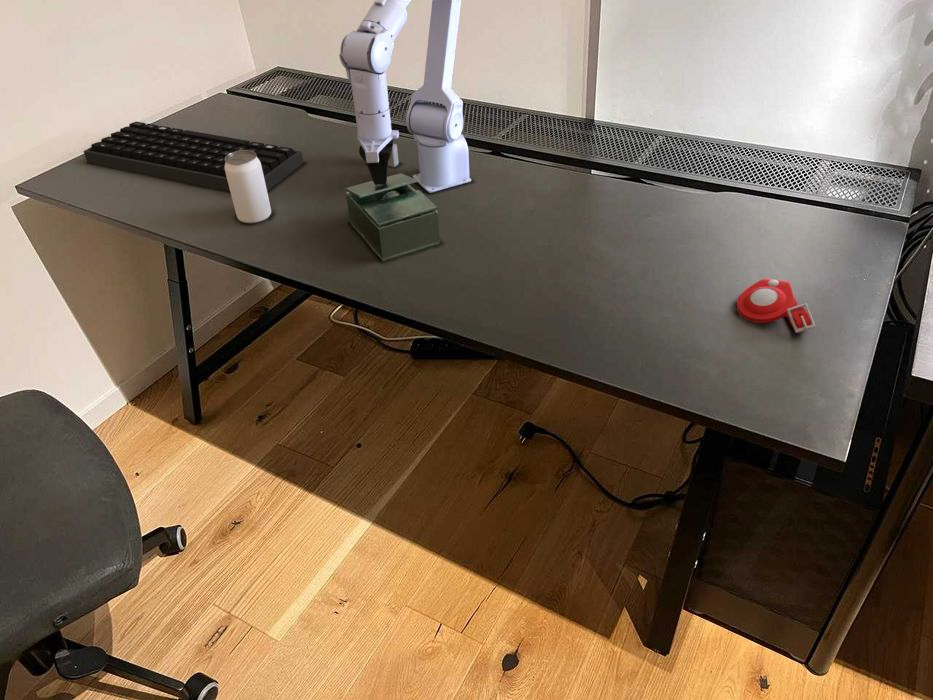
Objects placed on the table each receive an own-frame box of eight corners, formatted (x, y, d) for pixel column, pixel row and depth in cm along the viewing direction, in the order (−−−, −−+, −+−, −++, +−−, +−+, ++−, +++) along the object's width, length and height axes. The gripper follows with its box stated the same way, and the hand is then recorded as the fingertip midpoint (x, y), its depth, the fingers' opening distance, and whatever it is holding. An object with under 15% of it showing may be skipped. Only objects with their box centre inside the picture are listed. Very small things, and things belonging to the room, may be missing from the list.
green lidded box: (350, 223, 141) (345, 188, 136) (404, 208, 145) (401, 173, 140) (382, 261, 130) (378, 224, 126) (440, 244, 134) (437, 207, 130)
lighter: (399, 163, 159) (395, 127, 154) (394, 167, 158) (390, 130, 153) (372, 156, 162) (367, 120, 157) (367, 159, 161) (362, 123, 156)
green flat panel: (345, 190, 136) (345, 188, 136) (401, 175, 140) (400, 173, 140) (359, 197, 130) (359, 195, 130) (417, 181, 134) (416, 179, 134)
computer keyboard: (303, 163, 161) (300, 146, 159) (258, 197, 150) (254, 179, 148) (139, 133, 176) (134, 117, 174) (87, 162, 165) (81, 146, 163)
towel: (380, 192, 139) (380, 215, 141) (392, 205, 135) (393, 228, 138) (402, 188, 141) (402, 210, 143) (415, 200, 137) (415, 223, 140)
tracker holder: (726, 311, 114) (749, 267, 119) (730, 332, 117) (753, 288, 122) (811, 324, 107) (832, 276, 112) (813, 345, 110) (834, 298, 114)
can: (263, 225, 141) (249, 165, 134) (231, 223, 143) (215, 163, 135) (277, 208, 146) (264, 149, 139) (245, 206, 147) (231, 147, 140)
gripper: (393, 124, 121) (400, 201, 129) (398, 90, 132) (405, 163, 140) (348, 126, 121) (359, 203, 129) (357, 92, 132) (367, 165, 140)
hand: (380, 182), depth 135 cm, fingers closed
